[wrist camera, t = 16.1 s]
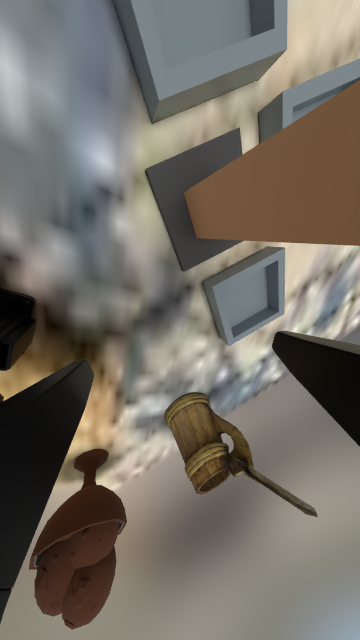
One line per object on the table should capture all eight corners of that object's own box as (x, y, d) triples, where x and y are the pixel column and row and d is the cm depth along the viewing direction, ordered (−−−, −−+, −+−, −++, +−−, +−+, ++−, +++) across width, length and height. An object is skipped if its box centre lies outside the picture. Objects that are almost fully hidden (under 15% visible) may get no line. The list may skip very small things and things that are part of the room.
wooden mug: (230, 391, 34) (318, 515, 19) (178, 428, 34) (227, 582, 19) (216, 371, 29) (321, 516, 14) (155, 413, 29) (197, 607, 14)
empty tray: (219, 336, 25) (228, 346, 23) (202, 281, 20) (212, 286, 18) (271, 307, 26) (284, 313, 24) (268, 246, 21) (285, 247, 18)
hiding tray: (264, 232, 19) (282, 232, 17) (258, 112, 14) (282, 91, 12) (328, 199, 20) (352, 195, 18) (346, 74, 15) (383, 48, 13)
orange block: (196, 238, 16) (386, 247, 5) (183, 192, 14) (473, 6, 3) (230, 221, 17) (480, 192, 5) (222, 174, 15) (626, -59, 3)
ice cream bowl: (107, 430, 26) (98, 605, 14) (132, 455, 32) (141, 593, 20) (39, 463, 25) (-42, 698, 12) (78, 482, 30) (51, 654, 18)
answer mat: (182, 270, 18) (184, 271, 18) (145, 171, 13) (146, 168, 13) (247, 236, 19) (251, 236, 18) (235, 131, 14) (239, 127, 13)
